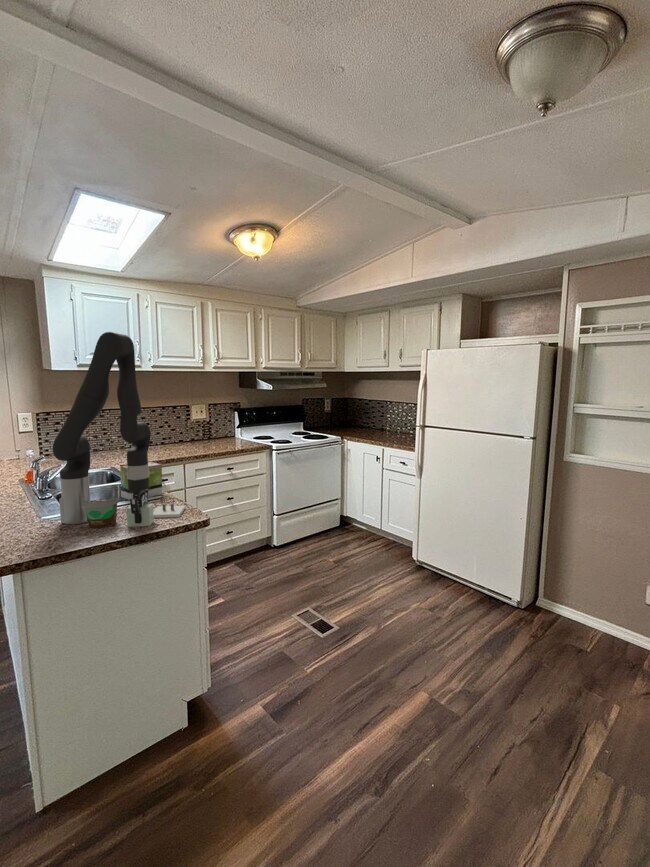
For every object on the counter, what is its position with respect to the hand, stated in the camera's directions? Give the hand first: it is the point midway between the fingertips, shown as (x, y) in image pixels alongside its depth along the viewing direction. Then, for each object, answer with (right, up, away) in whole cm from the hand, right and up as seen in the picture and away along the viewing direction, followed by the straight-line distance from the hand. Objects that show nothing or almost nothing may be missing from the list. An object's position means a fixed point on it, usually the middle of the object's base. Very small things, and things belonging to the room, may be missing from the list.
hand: (140, 520), depth 154 cm
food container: (-14, -2, -2) cm, 14 cm away
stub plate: (+6, 0, +13) cm, 14 cm away
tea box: (-15, +3, +36) cm, 40 cm away
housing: (0, -1, 0) cm, 1 cm away
